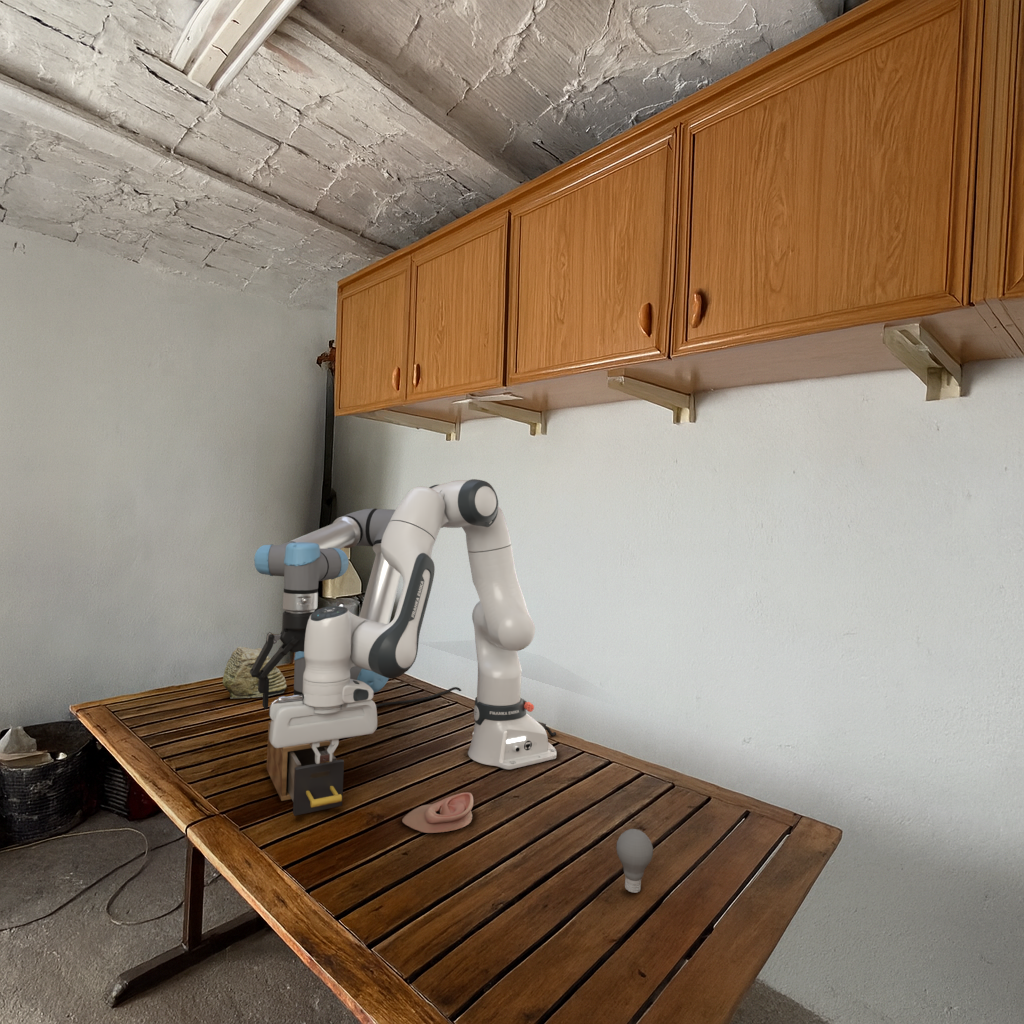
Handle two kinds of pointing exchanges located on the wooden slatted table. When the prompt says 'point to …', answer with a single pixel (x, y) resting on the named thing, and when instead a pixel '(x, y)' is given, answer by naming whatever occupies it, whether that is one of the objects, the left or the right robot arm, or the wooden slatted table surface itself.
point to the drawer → (314, 781)
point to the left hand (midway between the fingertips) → (296, 703)
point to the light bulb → (634, 857)
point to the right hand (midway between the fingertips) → (323, 762)
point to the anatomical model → (442, 814)
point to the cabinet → (282, 764)
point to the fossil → (249, 675)
